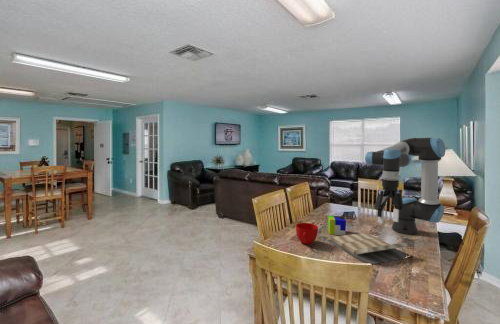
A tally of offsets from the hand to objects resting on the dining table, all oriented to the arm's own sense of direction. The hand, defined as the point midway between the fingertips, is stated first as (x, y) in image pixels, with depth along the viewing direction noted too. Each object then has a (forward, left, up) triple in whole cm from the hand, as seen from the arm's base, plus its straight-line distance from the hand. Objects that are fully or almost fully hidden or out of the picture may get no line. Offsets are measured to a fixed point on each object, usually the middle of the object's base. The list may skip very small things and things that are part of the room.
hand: (388, 222), depth 132 cm
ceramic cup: (+30, -30, -20) cm, 47 cm away
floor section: (0, -14, -20) cm, 24 cm away
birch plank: (0, -3, -16) cm, 17 cm away
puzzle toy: (0, -41, -20) cm, 46 cm away
